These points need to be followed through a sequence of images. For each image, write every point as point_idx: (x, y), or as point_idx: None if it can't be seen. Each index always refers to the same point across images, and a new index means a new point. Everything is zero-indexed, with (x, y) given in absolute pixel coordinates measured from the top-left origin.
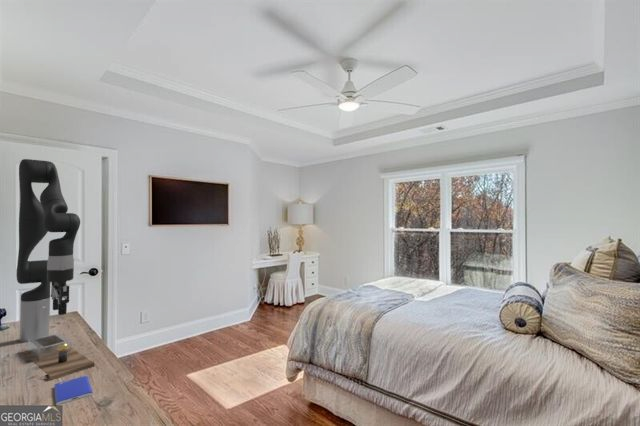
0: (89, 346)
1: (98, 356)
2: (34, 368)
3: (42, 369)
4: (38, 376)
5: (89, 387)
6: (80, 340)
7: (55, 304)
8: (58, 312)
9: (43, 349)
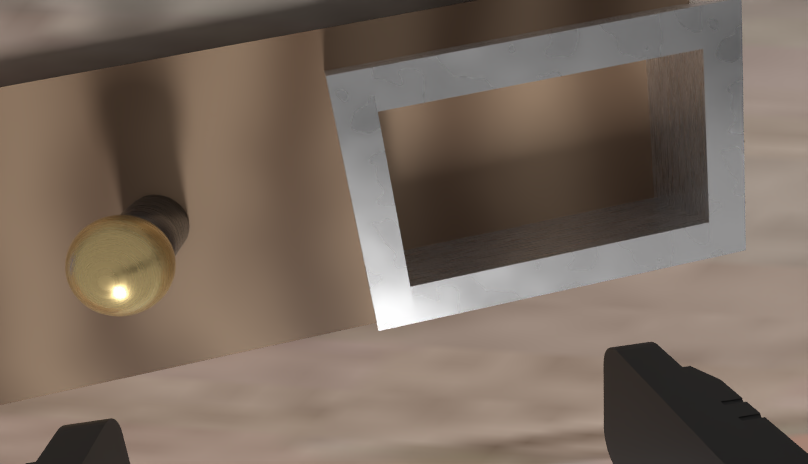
0: (476, 406)
1: (181, 440)
2: (235, 32)
3: (53, 78)
4: (7, 47)
5: None
6: (682, 364)
7: (662, 447)
8: (59, 448)
9: (333, 107)
